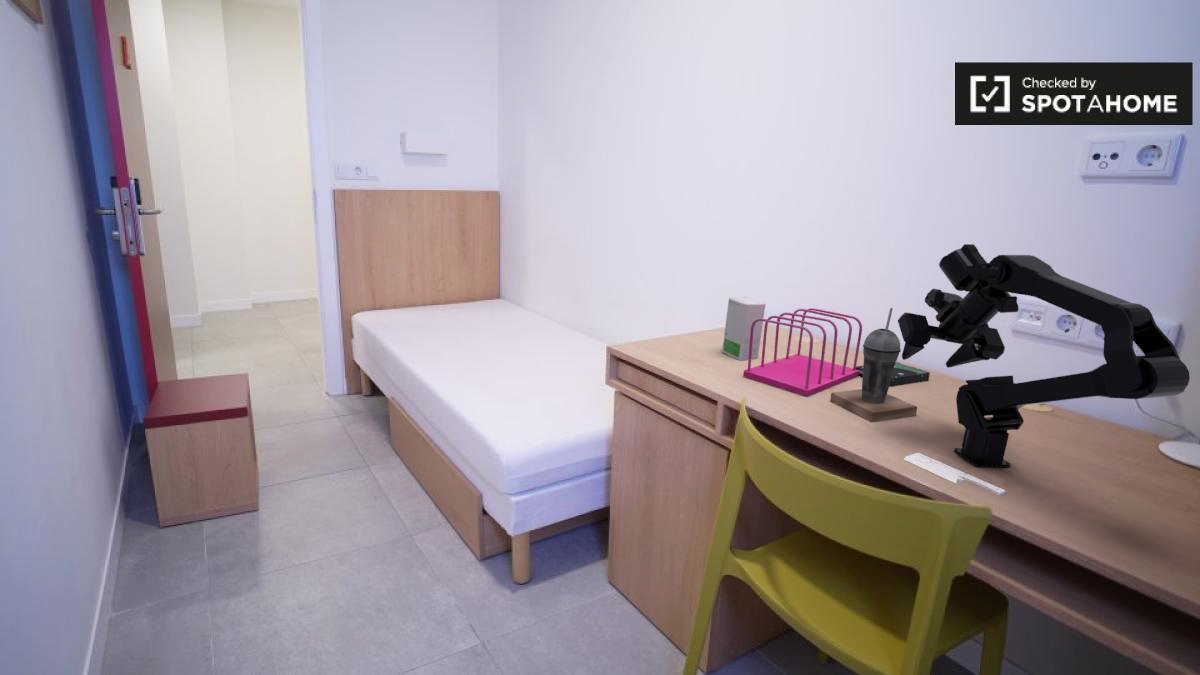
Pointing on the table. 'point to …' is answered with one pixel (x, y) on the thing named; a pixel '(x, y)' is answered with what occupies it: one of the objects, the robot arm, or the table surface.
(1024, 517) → the table surface
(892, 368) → the beverage cup
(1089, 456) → the table surface
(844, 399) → the walnut plinth
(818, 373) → the file sorter
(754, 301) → the skincare box
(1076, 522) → the table surface
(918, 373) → the disk drive
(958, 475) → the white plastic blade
